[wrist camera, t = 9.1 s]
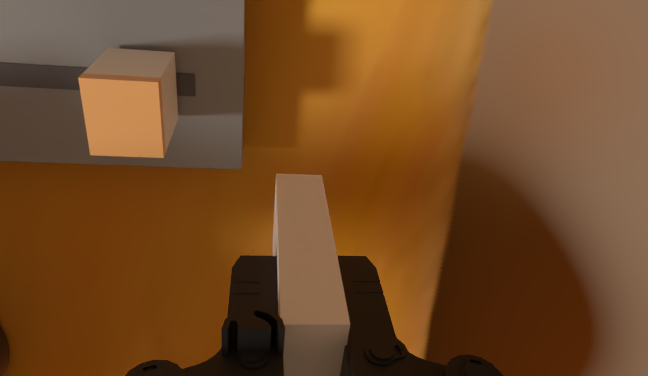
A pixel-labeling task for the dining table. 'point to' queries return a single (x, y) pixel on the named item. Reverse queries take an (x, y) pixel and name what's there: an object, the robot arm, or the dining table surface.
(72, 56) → the switch unit
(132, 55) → the slider
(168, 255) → the dining table surface
